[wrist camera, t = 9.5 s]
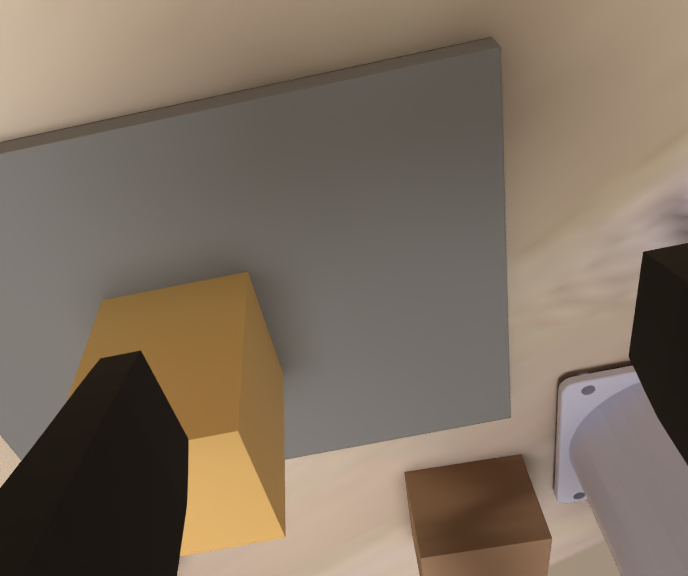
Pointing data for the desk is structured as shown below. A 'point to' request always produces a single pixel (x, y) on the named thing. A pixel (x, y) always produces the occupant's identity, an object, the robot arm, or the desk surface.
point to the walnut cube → (478, 520)
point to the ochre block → (210, 400)
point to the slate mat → (282, 242)
